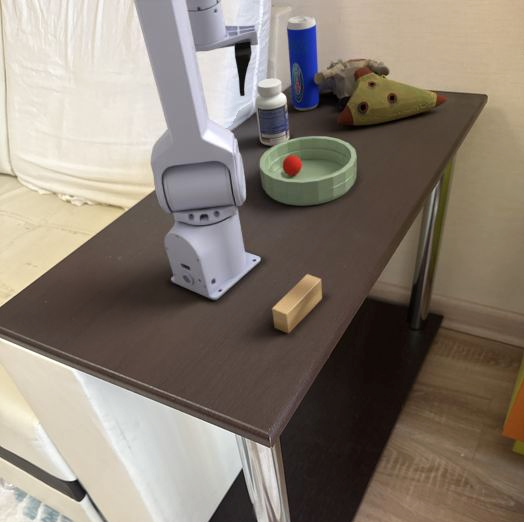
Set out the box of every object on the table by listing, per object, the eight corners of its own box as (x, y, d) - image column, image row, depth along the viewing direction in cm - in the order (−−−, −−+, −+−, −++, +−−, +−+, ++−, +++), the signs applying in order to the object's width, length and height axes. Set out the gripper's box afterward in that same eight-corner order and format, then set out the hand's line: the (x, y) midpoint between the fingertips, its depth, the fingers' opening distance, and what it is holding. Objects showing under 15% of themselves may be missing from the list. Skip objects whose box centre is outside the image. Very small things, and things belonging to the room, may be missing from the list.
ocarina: (443, 113, 96) (430, 59, 95) (455, 99, 90) (441, 42, 90) (337, 138, 95) (324, 84, 95) (342, 126, 90) (328, 69, 89)
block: (288, 334, 59) (286, 314, 57) (274, 327, 60) (271, 308, 58) (322, 298, 62) (321, 278, 60) (308, 293, 63) (307, 273, 61)
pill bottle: (294, 141, 93) (290, 83, 86) (266, 149, 92) (260, 91, 85) (282, 130, 96) (277, 74, 89) (255, 138, 95) (248, 82, 88)
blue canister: (288, 105, 104) (281, 19, 93) (311, 98, 105) (306, 12, 94) (300, 113, 100) (294, 25, 90) (324, 106, 102) (320, 18, 91)
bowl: (322, 216, 75) (321, 190, 72) (244, 193, 82) (240, 169, 79) (373, 170, 82) (374, 145, 79) (297, 153, 89) (295, 130, 86)
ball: (295, 180, 82) (293, 162, 79) (279, 176, 83) (277, 158, 81) (306, 172, 83) (304, 154, 81) (290, 168, 85) (289, 150, 82)
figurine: (327, 130, 98) (321, 122, 111) (399, 89, 94) (383, 85, 108) (304, 81, 94) (300, 78, 107) (378, 35, 90) (365, 39, 104)
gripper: (250, -19, 74) (262, 76, 85) (150, -3, 75) (174, 89, 86) (253, 3, 70) (264, 99, 81) (147, 19, 71) (173, 113, 82)
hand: (218, 96), depth 83 cm, fingers open, 7 cm apart
